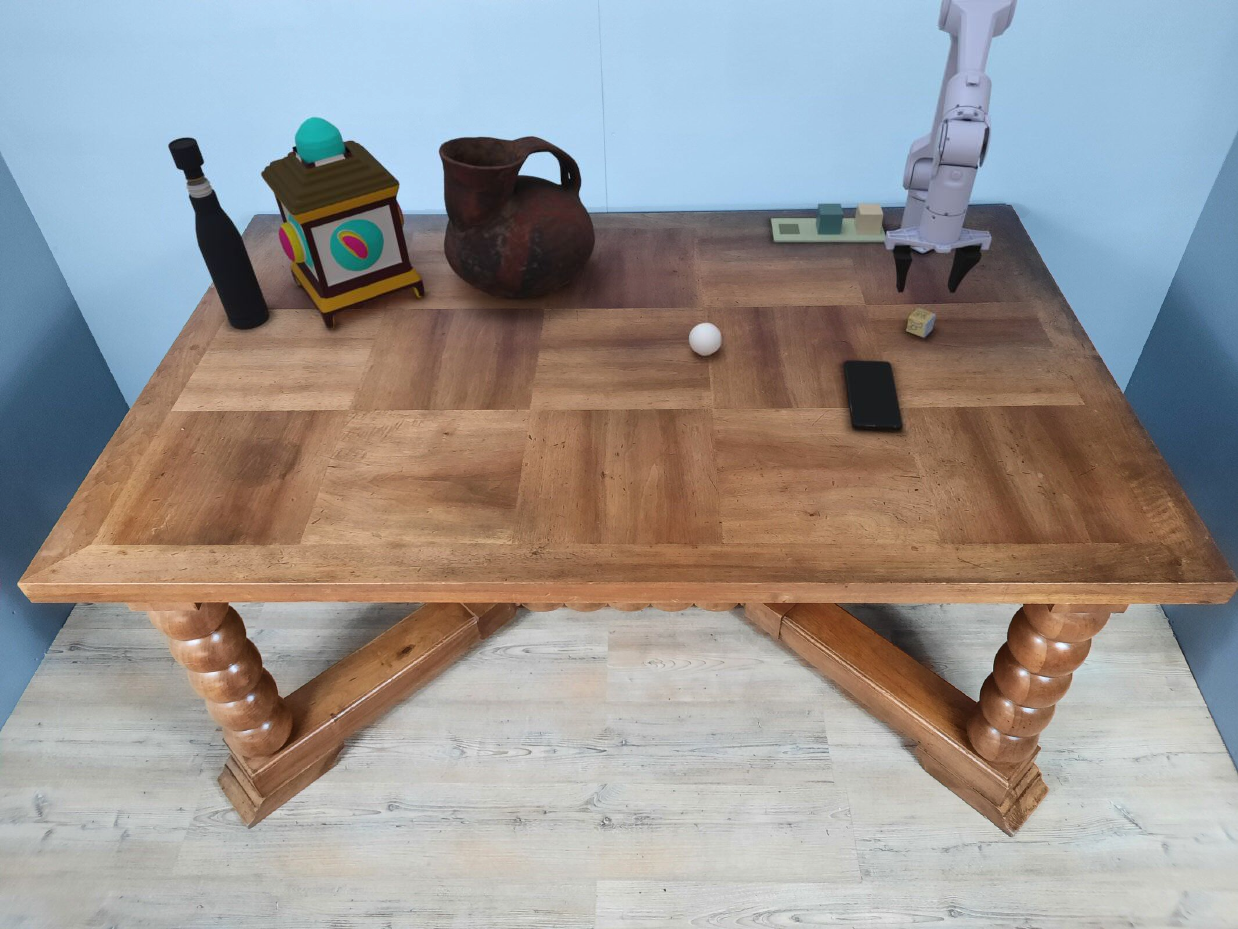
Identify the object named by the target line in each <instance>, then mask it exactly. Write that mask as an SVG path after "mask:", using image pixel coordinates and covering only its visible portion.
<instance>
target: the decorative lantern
mask: <svg viewBox="0 0 1238 929" xmlns="http://www.w3.org/2000/svg"><path fill="white" fill-rule="evenodd" d="M294 143H295V146H292V147H291V148H292V151H290V152H288V153H287V154H286V155H287V156H284V157H283V158H279V159H276V160H272V161H271V162H269V165H266V166H265V167H264V169H263V170H262V171H261V172H260V176H261V178H262V180H263V181H264V182H265V183H266V184H267V186H268V187H269V189H270V190H271V191H272V192H273V195H274V198H275V201H276V204H277V208H278V210H279V213H280V216H281V219H282V222H283V223H282V224H281V225H280V226H279V228H278V239H279V242H280V245H281V247H282V250H283V252H284V253H285V255H286V256H287V257H288V259H289V260H290V261H291V266H290V272H291V275H292V278H293V280H294V282H295V284H296V285H297V286H301V287H302V289H303V290H304V292H305V293H306V294H307V296H308V298H310V300H311V302H312V303H313V305H314V306H315V308H316V309H317V310H318V312H319V313H320V315H321V318H322V320H323V323H324V325H325V327H326V328H327V329H328V330H332V329H334V328H335V319H334V317H335V315H337V314H339V313H341V312H344V311H346V310H350V309H353V308H355V307H358V306H361V305H364V304H367V303H370V302H373V301H376V300H379V299H381V298H384V297H387V296H389V295H390V296H391V295H393V294H397V293H399V292H402V291H405V290H408V289H412V288H413V291H414V294H415V295H416V297H417V298H419V299H421V298H423V297H424V296H425V286H424V285H425V284H424V282H423V279H422V277H421V276H420V273H419V272H417V270H416V269H415V268H414V267H413V265H412V263H411V259H410V256H409V251H408V246H407V241H406V238H405V232H404V229H403V228H404V225H405V218H404V214H403V210H402V208H401V205H400V203H399V201H398V199H397V197H398V194H399V190H400V182H399V180H398V179H397V178H396V177H395V176H394V175H393V174H392V173H391V172H390V171H389V170H388V169H387V168H386V167H385V166H384V165H382V163H381V162H380V161H379V160H378V159H377V158H376V157H375V156H374V155H373V154H372V153H370V151H368V149H367V148H366V147H364V145H362V144H361V143H359V142H357V141H354V140H346V141H344V140H343V137H342V133H341V132H340V130H339V128H338V127H337V126H336V125H335V124H333V123H331V122H330V121H328V120H326V119H325V118H322V117H317V116H312V117H309V118H307V119H306V120H304V121H303V122H302V123H301V124H300V125H299V128H298V129H297V130H296V133H295V135H294Z"/></svg>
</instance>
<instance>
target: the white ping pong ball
mask: <svg viewBox="0 0 1238 929" xmlns="http://www.w3.org/2000/svg"><path fill="white" fill-rule="evenodd" d="M688 343H689V346H690V348H691V350H693V352H695V353H697V354H698V355H701V356H702V357H703V356H704V357H707V356H710V355H712V354H714V353H715V352H717V351H718V350H719V349H720V348H721V346H722V333H721V331H720V329H719V328H718V327H717V326H716V325H714V324H713V323H710V322H702V323H699V324H696V326H694V327H693V328H692V329H691V331H690V333H689V336H688Z"/></svg>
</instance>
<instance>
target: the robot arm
mask: <svg viewBox="0 0 1238 929" xmlns="http://www.w3.org/2000/svg"><path fill="white" fill-rule="evenodd" d="M1017 3H1018V0H941V4H940V9H939V14H938V20H937V27H938V30H939V31H942V32H945V33H947V34H948V36H949V42H950V44H949V49H948V54H947V59H946V63H945V67H944V72H943V77H942V81H941V85H940V88H939V89H940V90H939V93H938V99H937V104H936V107H935V112H934V115H933V116H934V117H933V121H932V126H931V130H930V132H929V133H926V134H925V135H923V136H921V137H919V138H917V139H915V140H913V141H912V144H910V147H909V150H908V151H909V152H908V154H907V157H906V162H905V166H904V172H903V176H902V185H901V186H902V187H903V189H904V191H905V190H906V191H907V192H908V193H907V196H906V201H905V205H904V211H903V214H902V219H901V224H900V228H897V229H896V230H887V231H886V233H885V236H886V238H885V242H883V243H884V246H885V249H886V250H889V251H890V250H891V251H892V255H893V259H894V264H895V273H896V275H895V276H896V279H895V280H896V282H895V287H896V291H897V293H899V294H900V293H902V294H903V293H904V292H905V287H906V282H907V277H908V273H909V270H910V267H911V265H912V262H913V258H912V255H911V253H912V250H914V251H916V252H919V254H926V253H927V252H929V251H932V250H935V253H939V254H949V253H951V251H952V250H954V249H955V250H954V257H953V262H952V267H951V269H950V273H949V276H948V280H947V288H948V291H949V293H950V294H955V293H956V291H957V289H958V288H959V286H960V285H961V283H962V281H963V280H964V278H965V277H966V275H967V274H968V273H969V272H970V271H971V270H972V269H973V268H974V267H975V266H977V265H978V264H979V263H980V261H981V260H982V257H983V254H982V251H988V250H989V249H990V246H991V243H992V240H993V239H992V235H991V233H990V232H989V231H988V230H976V229H970V228H964V227H963V226H964V223H965V222H964V221H965V218H966V216H967V212H968V207H969V204H970V199H971V196H972V193H973V190H974V189H973V188H974V185H975V181H976V178H977V175H978V170H979V168H982V167H983V165H984V163H985V160H986V159H987V155H988V153H989V147H990V142H991V139H992V138H991V136H992V122H991V115H990V114H989V112H990V111H989V110H990V101H991V92H992V86H993V85H992V80H991V78H990V77H989V76H988V75H987V74H986V73H985V72H986V66H987V62H988V57H989V54H990V49H991V44H992V41H993V38H996V37H999V36H1002V35H1004V32H1006V30H1008V28H1010V26H1011V24H1012V22H1013V18H1014V15H1015V12H1016V9H1017V8H1016V7H1017ZM911 249H912V250H911Z"/></svg>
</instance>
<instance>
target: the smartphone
mask: <svg viewBox="0 0 1238 929" xmlns="http://www.w3.org/2000/svg"><path fill="white" fill-rule="evenodd" d="M843 371H844V378H845V379H844V380H845V386H846V391H847V392H846V394H847V402H848V408H849V409H848V410H849V417H850V424H851V428H852V429H854V430H859V431H861V430H863V431H889V432H891V431H893V432H898V431H899V432H900V431H901V430H902V429H903V427H904V426H903V425H904V424H903V419H902V414H901V410H900V405H899V399H898V394H897V393H898V392H897V388H896V383H895V379H894V373H893V368H892V363H891V362H889V361H886V360H885V361H884V360H883V361H882V360H853V359H852V360H851V359H849V360H845V361H844V362H843Z"/></svg>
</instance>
